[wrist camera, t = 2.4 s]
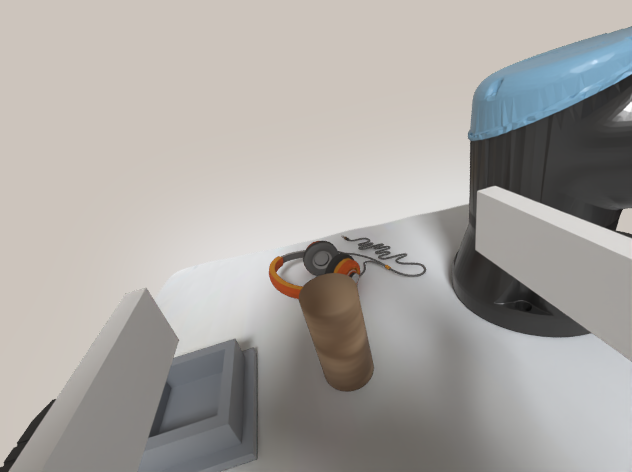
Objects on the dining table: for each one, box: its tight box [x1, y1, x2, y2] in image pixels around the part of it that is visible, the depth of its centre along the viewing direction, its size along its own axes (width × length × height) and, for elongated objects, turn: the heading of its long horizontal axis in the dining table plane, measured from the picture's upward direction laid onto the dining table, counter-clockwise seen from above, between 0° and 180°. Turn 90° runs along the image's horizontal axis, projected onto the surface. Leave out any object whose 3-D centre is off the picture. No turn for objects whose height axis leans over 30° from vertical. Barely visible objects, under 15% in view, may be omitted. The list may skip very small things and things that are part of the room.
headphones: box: [269, 236, 426, 299], centre depth 42 cm, size 17×5×20 cm
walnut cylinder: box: [299, 273, 374, 391], centre depth 27 cm, size 5×5×10 cm
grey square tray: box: [137, 339, 257, 472], centre depth 28 cm, size 11×11×4 cm
